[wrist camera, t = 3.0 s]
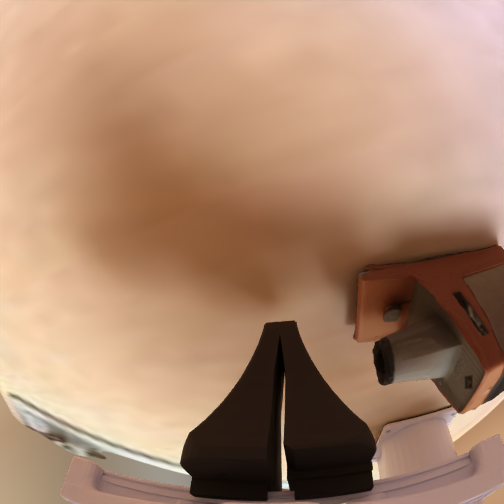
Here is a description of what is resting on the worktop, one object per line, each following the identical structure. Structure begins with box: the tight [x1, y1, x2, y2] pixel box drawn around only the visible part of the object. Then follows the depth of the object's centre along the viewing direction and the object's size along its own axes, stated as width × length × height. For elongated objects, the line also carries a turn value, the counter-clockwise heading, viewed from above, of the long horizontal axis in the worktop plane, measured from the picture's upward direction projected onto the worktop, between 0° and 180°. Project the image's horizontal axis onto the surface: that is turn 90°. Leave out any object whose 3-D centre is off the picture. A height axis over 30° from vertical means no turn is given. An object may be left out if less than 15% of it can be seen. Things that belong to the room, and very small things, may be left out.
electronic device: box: [353, 245, 504, 414], centre depth 11 cm, size 4×10×8 cm, turn 100°
